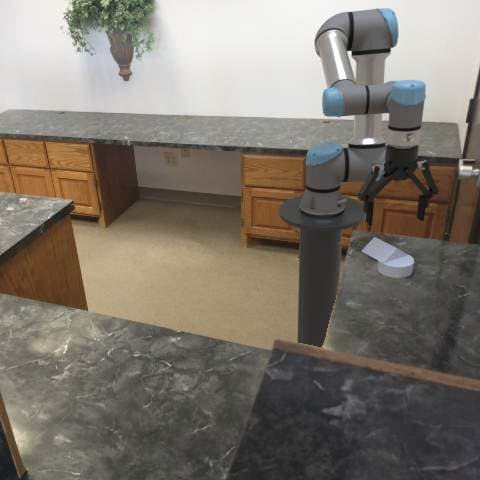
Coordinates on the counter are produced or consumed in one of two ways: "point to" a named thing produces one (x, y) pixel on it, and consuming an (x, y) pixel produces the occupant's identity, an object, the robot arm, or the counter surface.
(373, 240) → the wedge on round base
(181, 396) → the counter surface
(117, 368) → the counter surface
